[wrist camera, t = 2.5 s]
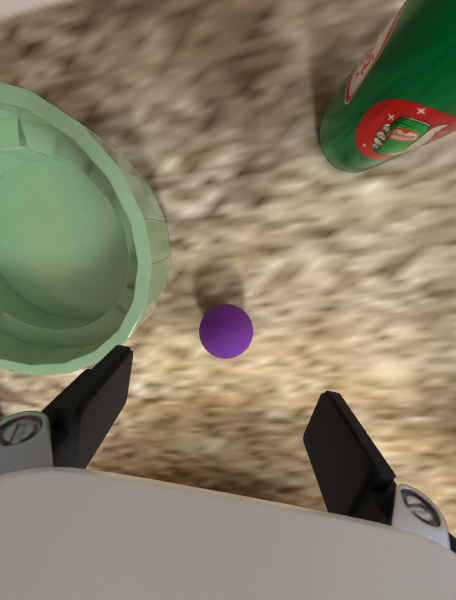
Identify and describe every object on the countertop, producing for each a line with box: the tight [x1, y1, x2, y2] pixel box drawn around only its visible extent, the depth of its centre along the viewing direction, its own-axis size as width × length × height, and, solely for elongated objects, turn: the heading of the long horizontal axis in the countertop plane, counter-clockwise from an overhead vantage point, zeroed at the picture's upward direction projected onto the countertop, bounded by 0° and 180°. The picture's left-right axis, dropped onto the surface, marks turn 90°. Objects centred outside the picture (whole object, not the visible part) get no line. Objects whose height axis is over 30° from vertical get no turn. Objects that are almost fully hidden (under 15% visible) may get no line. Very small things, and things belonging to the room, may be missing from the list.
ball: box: [199, 304, 253, 359], centre depth 17 cm, size 4×4×4 cm
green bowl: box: [0, 82, 171, 375], centre depth 15 cm, size 16×16×5 cm
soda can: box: [320, 0, 456, 173], centre depth 9 cm, size 5×5×12 cm
